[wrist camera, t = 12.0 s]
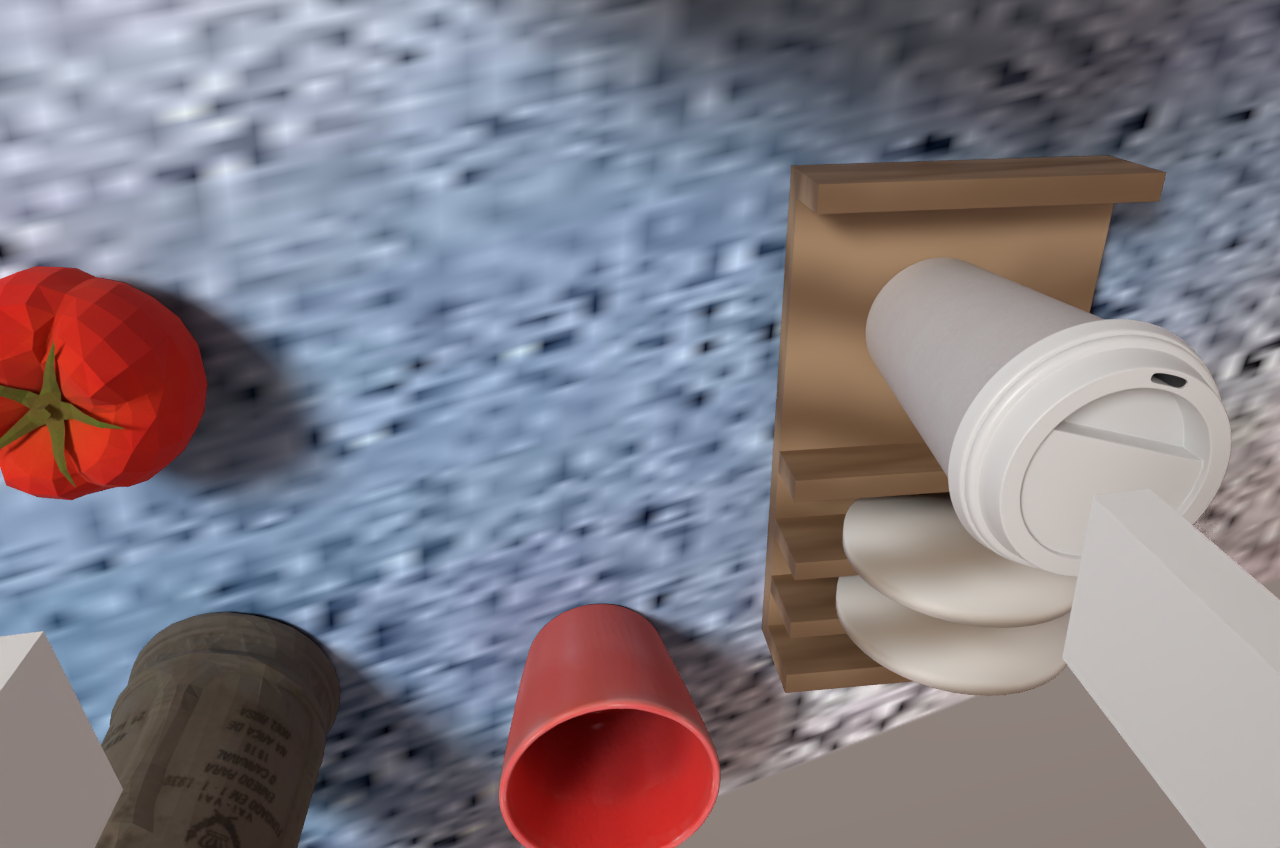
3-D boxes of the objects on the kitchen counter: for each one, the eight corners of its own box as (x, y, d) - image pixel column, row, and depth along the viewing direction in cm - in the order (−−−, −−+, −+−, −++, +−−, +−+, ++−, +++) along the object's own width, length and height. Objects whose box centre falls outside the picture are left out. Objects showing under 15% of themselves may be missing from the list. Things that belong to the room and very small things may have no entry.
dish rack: (791, 165, 40) (891, 234, 29) (1108, 155, 41) (1316, 217, 30) (761, 628, 51) (825, 802, 41) (1010, 607, 53) (1136, 769, 42)
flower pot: (710, 589, 50) (750, 717, 41) (663, 735, 54) (689, 878, 46) (521, 565, 48) (521, 694, 39) (488, 719, 52) (481, 866, 43)
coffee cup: (1067, 300, 43) (1311, 443, 30) (929, 446, 46) (1095, 637, 32) (933, 181, 40) (1140, 282, 26) (792, 346, 42) (916, 514, 29)
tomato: (253, 414, 42) (202, 496, 36) (69, 458, 42) (-18, 548, 35) (165, 222, 38) (88, 274, 31) (-40, 270, 38) (-161, 332, 31)
